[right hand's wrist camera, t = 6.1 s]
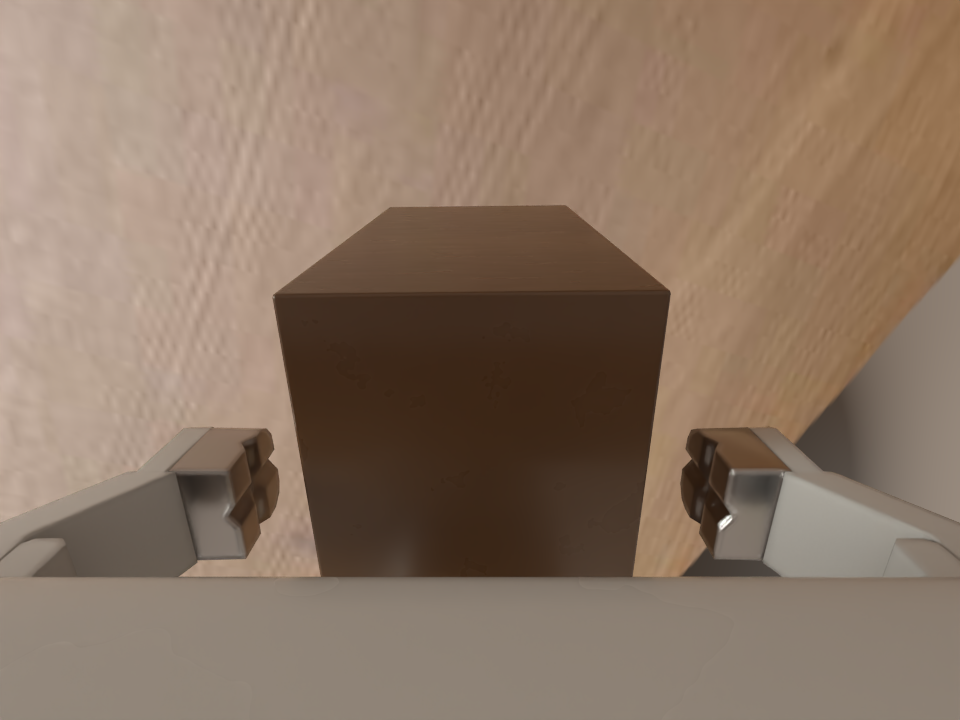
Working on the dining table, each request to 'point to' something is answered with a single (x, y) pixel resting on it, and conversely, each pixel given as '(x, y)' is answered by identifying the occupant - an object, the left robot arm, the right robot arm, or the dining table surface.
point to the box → (474, 394)
